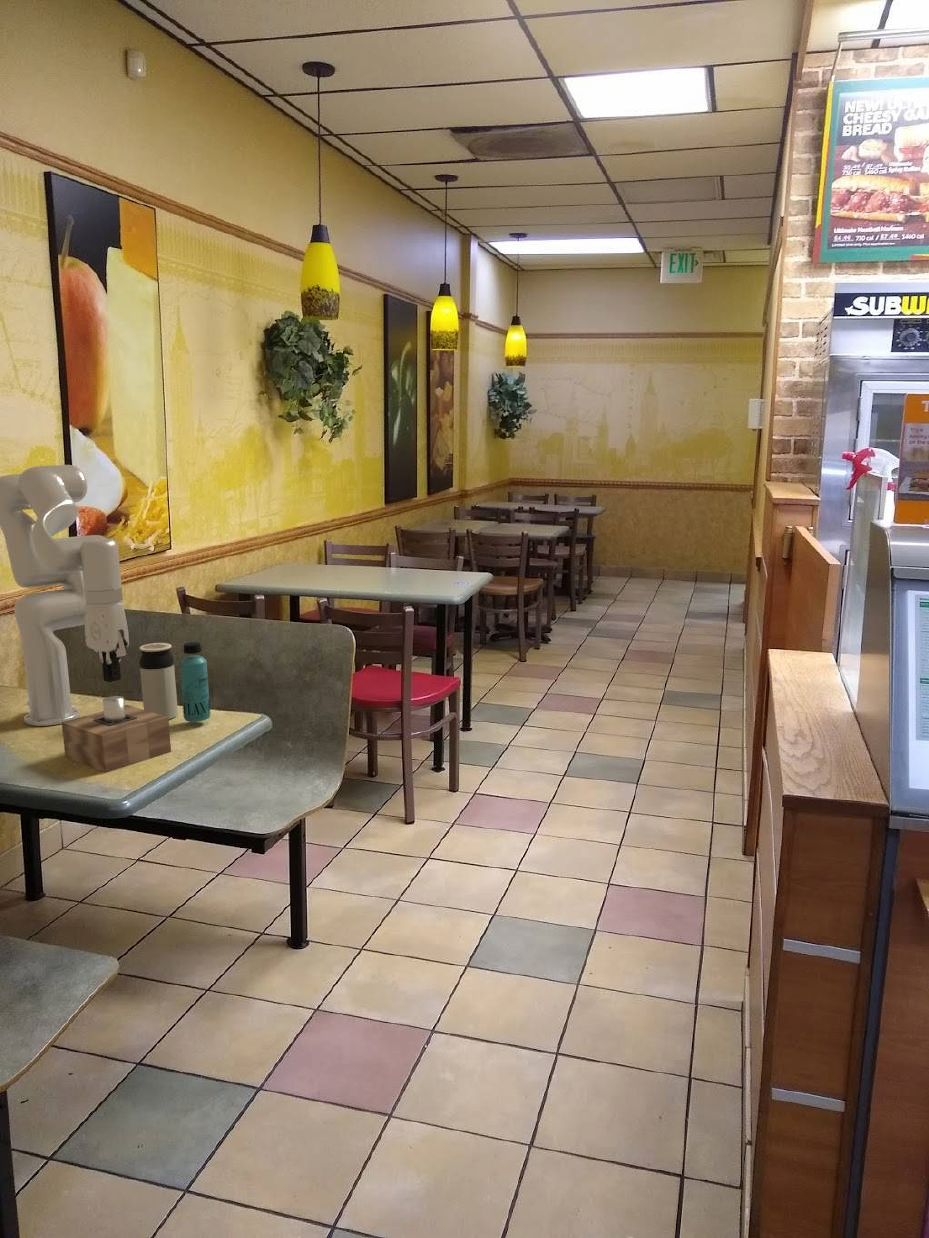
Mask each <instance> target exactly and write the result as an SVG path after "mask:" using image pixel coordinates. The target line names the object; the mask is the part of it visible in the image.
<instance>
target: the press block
mask: <svg viewBox="0 0 929 1238" xmlns="http://www.w3.org/2000/svg"><path fill="white" fill-rule="evenodd" d="M125 714H126V720H123V721H119V722H116V723H112V724H111V723H108V722H105V719H104V710H102V711H98V712H95V713H91V714H87V715H84V716H81V717H79V716H78V717H77V718H76V719H72V720H68V721H64V722H62V723H61V728H62V729H61V731H62V737H63V738H62V740H63V745H64V746H63V748H64V756H65V758H66V759H69V760H72V761H75V762H78V764H79V763H80V764H83V765H84V766H88V767H90V768H93V769H94V770H95V769H96V770H98V771H100V772H103V773H110V772H112V771H115V770H118V769H122V768H125V767H127V766H131V765H134V764H138V763H140V762H143V761H146V760H150V759H153V758H155V757H158V755H159V756H162V755H165V754H168V753H167V752H169V753H171V752H172V747H171V746H172V745H171V734H170V733H171V732H170V723H169V721H170V719H168V717H166V716H163V715H160V714H156V713H153V712H150V711H146V710H144V708H143V709H142V708H140V707H135V706H132V705H130V704H129V705H128V704H125ZM170 751H171V752H170ZM164 753H165V754H164ZM161 754H162V755H161Z"/></svg>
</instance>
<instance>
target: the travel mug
mask: <svg viewBox="0 0 929 1238" xmlns="http://www.w3.org/2000/svg"><path fill="white" fill-rule="evenodd" d="M171 648H172V644H170V643H167V642H153V643H147V644H143V645H141V646H140V647H139V651H140V652H141V657H140V658H139V671H140V682H141V683H140V684H141V692H142V693H141V695H142V705H143V706H142V707H143V710H146V711H150V712H153V713H156V714H160V715H163V716H166V717H168V719H169V720H173V719H174V718H176V717H177V716H179V710H178V709H179V708H178V699H177V698H178V697H177V686H176V685H177V684H176V676H175V675H176V674H175V673H176V672H175V661H174V659H175V658H174V656H173V655H172V654H171Z"/></svg>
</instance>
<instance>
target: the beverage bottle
mask: <svg viewBox="0 0 929 1238" xmlns="http://www.w3.org/2000/svg"><path fill="white" fill-rule="evenodd" d="M201 652H203V651H202V645H201V642H197V641H191V642H186V643H184V644H183V653H184V654H188V655H187V656H185V657H183V658H182V659H181V661H180V662H179V665H180V666H179V667H180V679H181V680H180V682H181V699H182V714H183V719H184V721H186V722H189V723H191V722H192V723H193V722H195V723H196V722H204V721H206V720H209V719H210V717H211V701H210V700H211V699H210V694H209V690H210V689H209V675H208V664H207V663H208V662H207V661H208V660H207V659H206V658H205V657H204V656H202V655H198V654H199V653H201ZM189 654H193V655H189Z"/></svg>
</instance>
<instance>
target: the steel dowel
mask: <svg viewBox="0 0 929 1238" xmlns="http://www.w3.org/2000/svg"><path fill="white" fill-rule="evenodd" d="M125 705H126V704H125V697H124V696H122V695H120V696H119V695H113V696H112V695H111V696H108V697H105V698H103V699H102V707H103V711H104V719H105V722H108V723H111V724H112V723H116V722H119V721H123V720H126V714H125Z"/></svg>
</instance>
